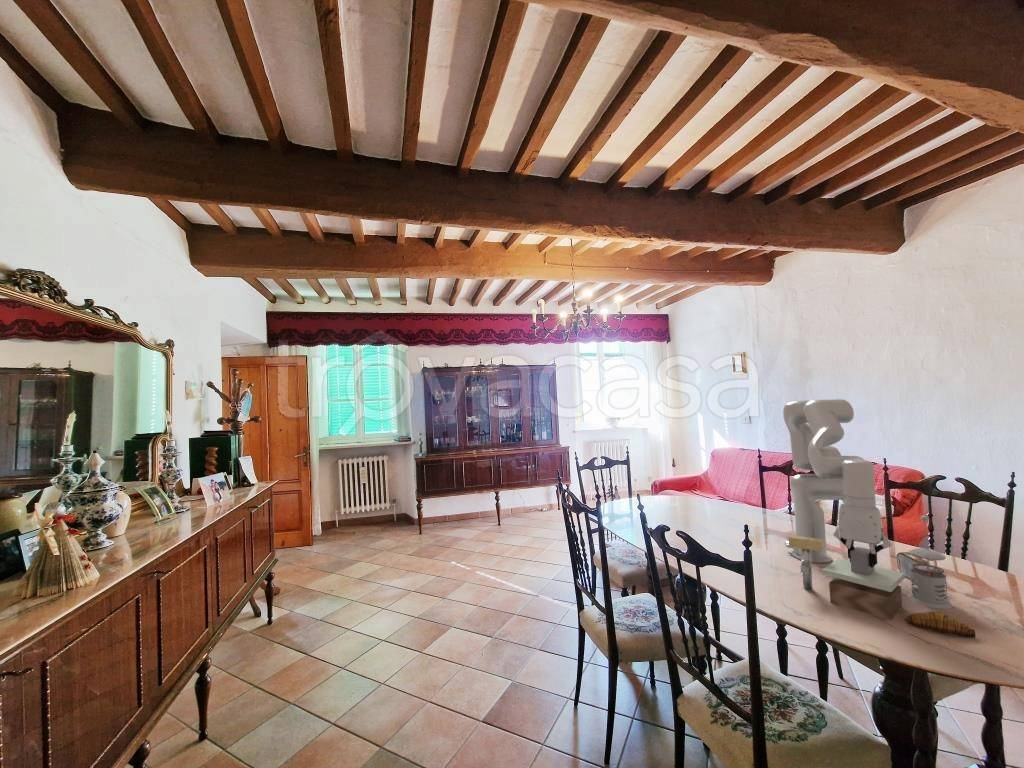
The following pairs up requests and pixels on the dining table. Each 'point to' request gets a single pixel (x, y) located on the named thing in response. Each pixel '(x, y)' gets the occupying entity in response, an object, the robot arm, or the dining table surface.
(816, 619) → the dining table surface
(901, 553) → the tin
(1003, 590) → the dining table surface
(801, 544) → the key
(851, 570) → the cover
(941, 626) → the croissant
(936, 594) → the french press
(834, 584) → the housing
